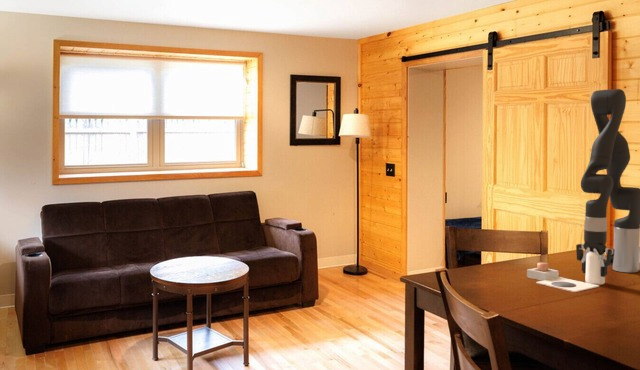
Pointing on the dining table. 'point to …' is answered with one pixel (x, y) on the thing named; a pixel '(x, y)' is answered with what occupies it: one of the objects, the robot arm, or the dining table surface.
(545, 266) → the button
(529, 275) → the button housing
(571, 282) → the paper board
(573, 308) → the dining table surface
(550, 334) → the dining table surface
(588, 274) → the can
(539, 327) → the dining table surface
